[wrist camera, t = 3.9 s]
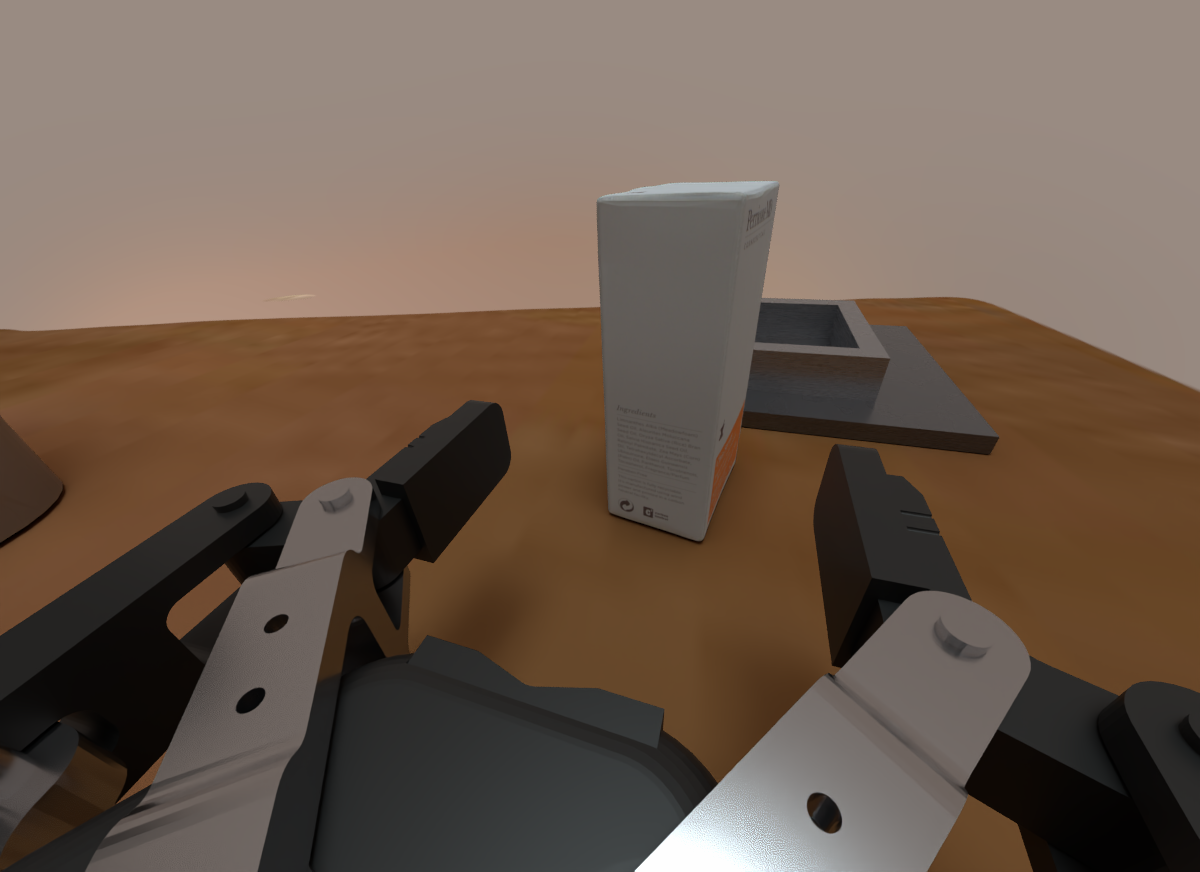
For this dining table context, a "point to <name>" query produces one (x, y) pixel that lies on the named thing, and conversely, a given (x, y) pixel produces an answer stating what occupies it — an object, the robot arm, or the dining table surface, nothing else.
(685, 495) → the skincare box
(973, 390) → the dining table surface
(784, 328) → the grey box holder
